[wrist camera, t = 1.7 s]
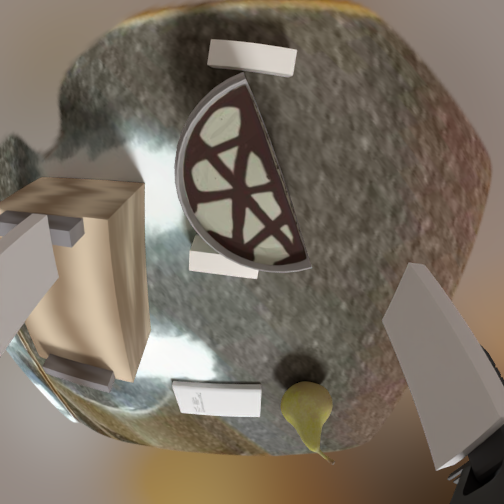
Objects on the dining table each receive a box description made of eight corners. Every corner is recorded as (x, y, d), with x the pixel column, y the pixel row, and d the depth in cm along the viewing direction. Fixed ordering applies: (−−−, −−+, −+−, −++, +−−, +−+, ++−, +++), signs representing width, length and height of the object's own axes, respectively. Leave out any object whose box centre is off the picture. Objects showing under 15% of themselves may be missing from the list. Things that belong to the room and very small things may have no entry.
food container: (176, 106, 22) (130, 118, 14) (246, 78, 21) (241, 69, 13) (230, 232, 28) (220, 302, 19) (295, 211, 27) (314, 275, 18)
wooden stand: (66, 312, 34) (32, 368, 25) (41, 177, 25) (-23, 217, 16) (150, 330, 35) (128, 397, 26) (144, 183, 26) (94, 233, 17)
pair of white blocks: (194, 253, 29) (188, 270, 27) (216, 45, 20) (211, 39, 17) (256, 260, 30) (256, 278, 27) (291, 54, 20) (296, 49, 18)
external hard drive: (259, 409, 44) (182, 406, 44) (261, 380, 40) (173, 377, 40) (259, 418, 43) (181, 414, 43) (261, 390, 39) (171, 386, 39)
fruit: (302, 365, 37) (313, 446, 27) (340, 382, 40) (355, 455, 29) (270, 389, 40) (273, 464, 30) (308, 403, 42) (316, 472, 32)
